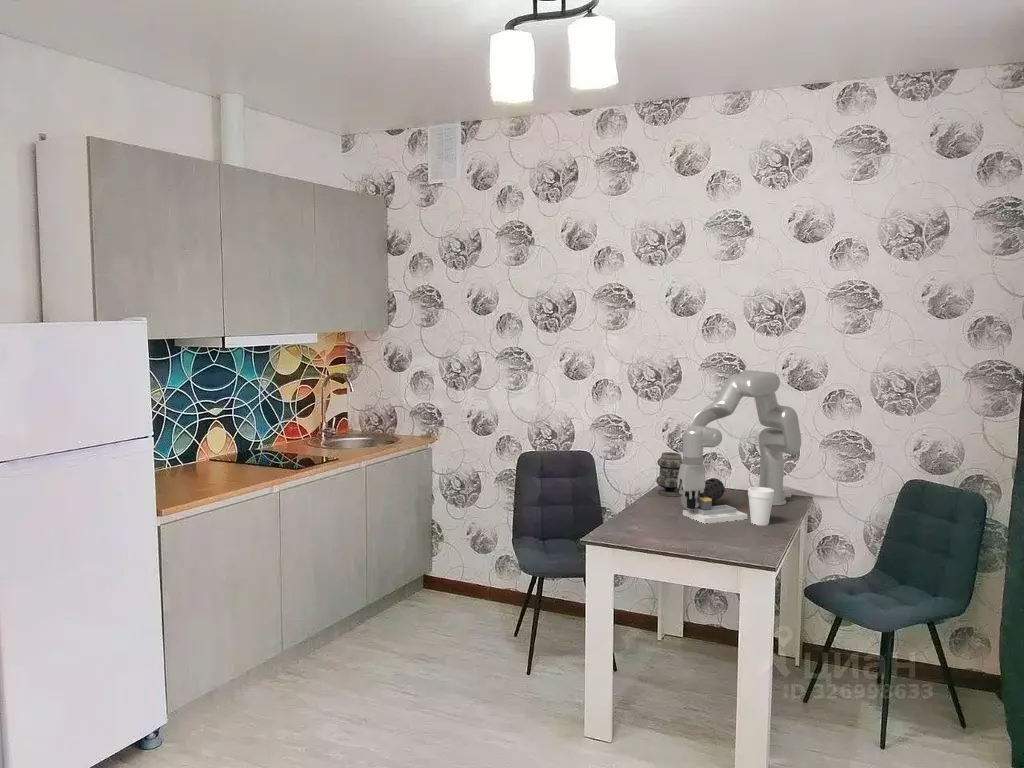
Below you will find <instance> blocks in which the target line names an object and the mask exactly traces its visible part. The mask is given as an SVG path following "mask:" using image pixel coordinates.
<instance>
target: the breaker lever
mask: <svg viewBox="0 0 1024 768" xmlns="http://www.w3.org/2000/svg"><path fill="white" fill-rule="evenodd" d="M711 506H713V503H712V499H711V498H708V497H701V498H700V509H701V510H704V511H707V510H711Z"/></svg>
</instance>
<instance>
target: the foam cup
mask: <svg viewBox="0 0 1024 768" xmlns="http://www.w3.org/2000/svg"><path fill="white" fill-rule="evenodd" d="M747 496H748V506H749V514H750V517H749V518H750V523H751V524H752V523H753V524H752V525H754V524H756V525H755V526H769V523H770V518H771V512H772V508H773V505H772V502H773V497H774V490H773V489H770V488H765V487H759V486H752V487H748V488H747Z"/></svg>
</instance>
